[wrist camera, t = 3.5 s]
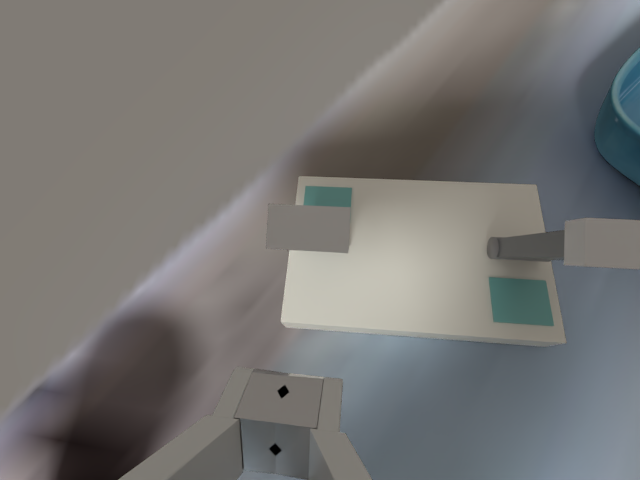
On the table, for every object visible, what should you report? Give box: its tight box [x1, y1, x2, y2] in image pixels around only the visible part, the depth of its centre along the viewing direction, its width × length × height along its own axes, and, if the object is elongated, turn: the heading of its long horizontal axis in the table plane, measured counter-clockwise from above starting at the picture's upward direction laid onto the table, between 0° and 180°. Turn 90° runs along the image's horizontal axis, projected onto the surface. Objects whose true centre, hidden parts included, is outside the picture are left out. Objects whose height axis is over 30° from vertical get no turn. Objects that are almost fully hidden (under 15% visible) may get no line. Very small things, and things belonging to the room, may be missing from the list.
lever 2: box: [487, 218, 640, 270], centre depth 22 cm, size 2×4×12 cm, turn 85°
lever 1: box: [266, 204, 351, 253], centre depth 24 cm, size 2×4×12 cm, turn 85°
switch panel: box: [281, 176, 567, 347], centre depth 31 cm, size 14×22×3 cm, turn 85°
